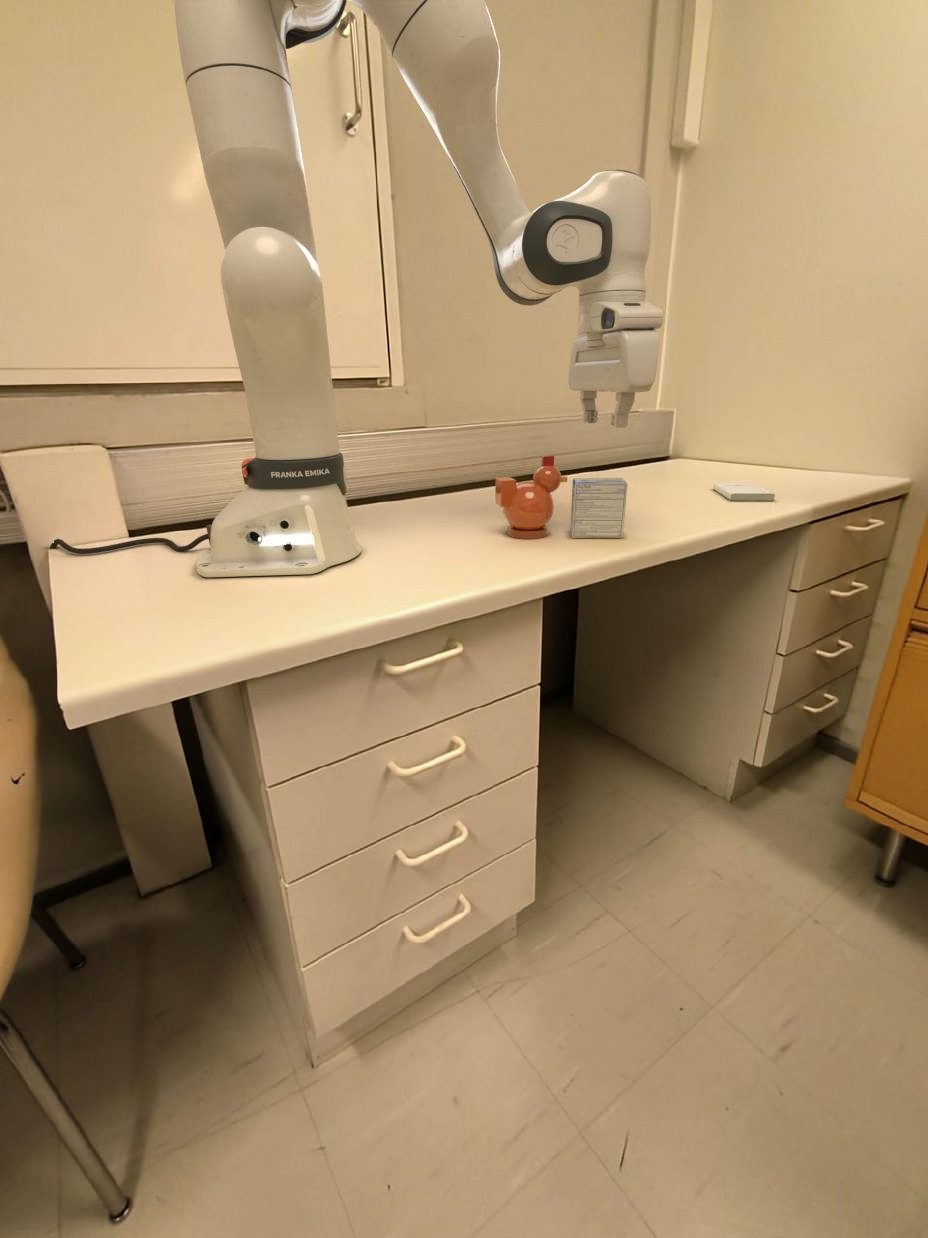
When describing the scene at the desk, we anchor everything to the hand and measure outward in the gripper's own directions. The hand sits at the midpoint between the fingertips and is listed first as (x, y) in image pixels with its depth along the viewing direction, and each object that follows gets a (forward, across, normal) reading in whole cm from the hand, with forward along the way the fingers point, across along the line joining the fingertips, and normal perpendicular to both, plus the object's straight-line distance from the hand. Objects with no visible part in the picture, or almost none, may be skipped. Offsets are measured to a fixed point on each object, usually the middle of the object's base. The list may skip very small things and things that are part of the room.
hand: (603, 424), depth 83 cm
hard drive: (+17, -20, +42) cm, 49 cm away
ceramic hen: (+16, -4, -10) cm, 20 cm away
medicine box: (+17, 0, 0) cm, 17 cm away
